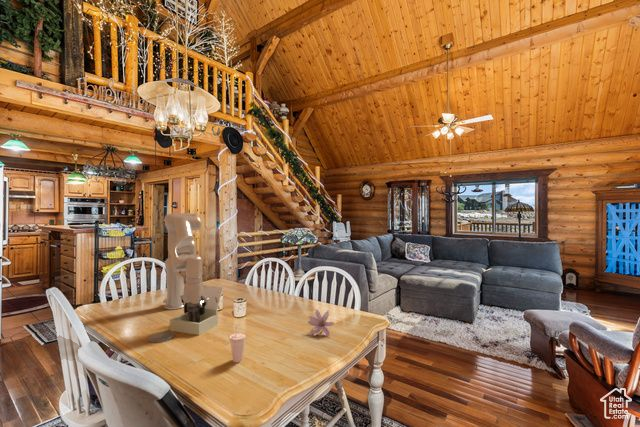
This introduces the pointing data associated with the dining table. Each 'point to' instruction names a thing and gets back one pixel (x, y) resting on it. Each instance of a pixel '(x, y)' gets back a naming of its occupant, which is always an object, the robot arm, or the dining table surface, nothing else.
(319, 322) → the water lily
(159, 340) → the coaster
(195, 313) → the beverage cup
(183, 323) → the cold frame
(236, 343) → the smoothie
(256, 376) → the dining table surface
